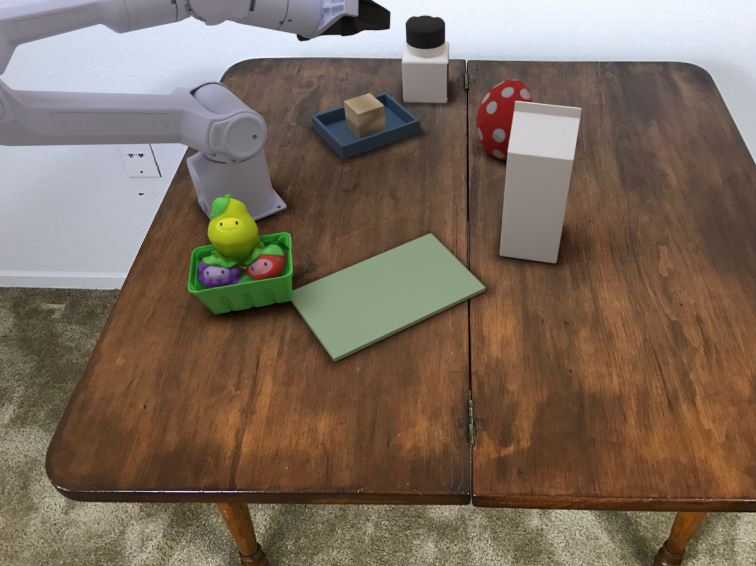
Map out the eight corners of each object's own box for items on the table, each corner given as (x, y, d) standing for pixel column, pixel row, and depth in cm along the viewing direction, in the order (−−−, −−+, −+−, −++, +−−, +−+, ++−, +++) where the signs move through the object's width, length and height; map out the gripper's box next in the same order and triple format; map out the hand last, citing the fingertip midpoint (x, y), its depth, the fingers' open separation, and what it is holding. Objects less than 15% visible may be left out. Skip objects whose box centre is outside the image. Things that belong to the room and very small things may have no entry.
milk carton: (556, 264, 83) (579, 126, 69) (499, 256, 84) (510, 118, 70) (561, 228, 88) (584, 92, 74) (507, 221, 89) (519, 85, 75)
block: (360, 141, 101) (357, 114, 97) (346, 127, 103) (343, 101, 100) (386, 132, 102) (384, 105, 99) (371, 119, 105) (369, 92, 102)
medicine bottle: (447, 104, 109) (448, 29, 100) (403, 104, 109) (400, 28, 100) (448, 82, 113) (449, 9, 104) (406, 82, 113) (403, 8, 105)
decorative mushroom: (587, 78, 97) (498, 56, 90) (595, 150, 95) (505, 134, 88) (542, 115, 107) (458, 98, 100) (549, 181, 105) (464, 168, 98)
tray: (343, 161, 98) (342, 146, 96) (313, 130, 103) (311, 115, 102) (420, 134, 103) (419, 120, 101) (387, 106, 108) (386, 92, 106)
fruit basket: (202, 325, 76) (164, 249, 68) (206, 272, 82) (172, 197, 74) (303, 307, 77) (278, 230, 69) (300, 257, 83) (277, 180, 75)
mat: (334, 362, 73) (333, 358, 72) (287, 296, 79) (286, 292, 79) (485, 291, 80) (485, 287, 80) (430, 236, 87) (430, 232, 86)
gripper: (311, -47, 71) (408, -19, 80) (241, -28, 81) (335, -6, 90) (311, 26, 73) (405, 45, 82) (243, 36, 83) (335, 51, 92)
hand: (369, 23), depth 86 cm, fingers open, 7 cm apart
